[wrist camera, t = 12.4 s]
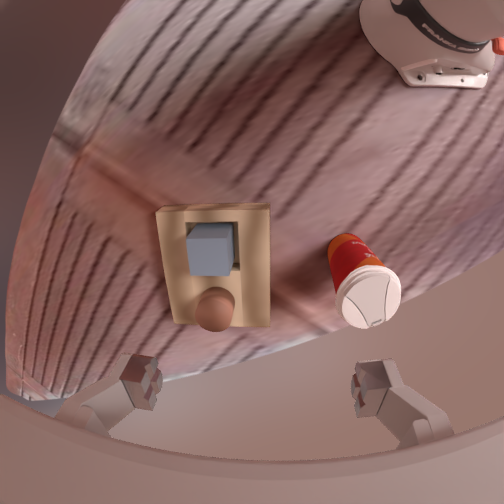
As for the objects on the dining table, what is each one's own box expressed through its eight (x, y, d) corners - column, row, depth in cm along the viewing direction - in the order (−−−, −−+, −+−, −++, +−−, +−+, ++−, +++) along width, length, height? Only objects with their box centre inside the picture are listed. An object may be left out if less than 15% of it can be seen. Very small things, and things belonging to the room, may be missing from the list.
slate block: (233, 222, 40) (226, 238, 35) (235, 256, 42) (229, 276, 37) (197, 223, 41) (185, 238, 35) (200, 256, 43) (190, 275, 37)
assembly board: (269, 202, 40) (268, 219, 33) (270, 313, 47) (269, 344, 40) (164, 205, 41) (143, 221, 34) (180, 311, 48) (166, 339, 41)
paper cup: (375, 263, 42) (408, 317, 30) (329, 281, 44) (346, 341, 31) (362, 217, 40) (398, 259, 27) (312, 236, 41) (328, 286, 29)
